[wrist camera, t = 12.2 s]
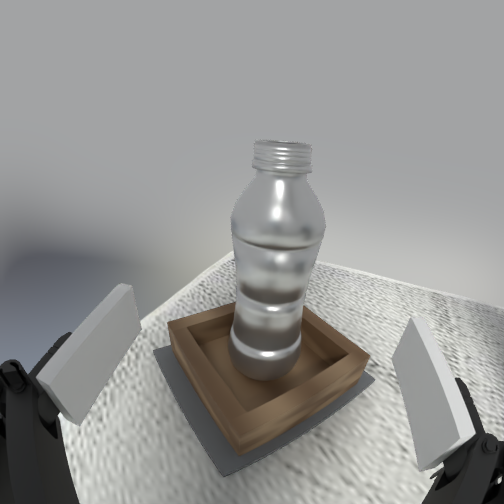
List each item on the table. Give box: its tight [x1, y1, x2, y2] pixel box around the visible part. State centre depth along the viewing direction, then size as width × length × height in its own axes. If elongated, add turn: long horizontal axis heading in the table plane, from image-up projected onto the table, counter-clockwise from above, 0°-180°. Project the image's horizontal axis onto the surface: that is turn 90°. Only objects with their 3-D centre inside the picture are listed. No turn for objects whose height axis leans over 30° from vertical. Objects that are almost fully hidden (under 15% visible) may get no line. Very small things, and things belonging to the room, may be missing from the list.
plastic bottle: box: [228, 140, 326, 381], centre depth 21 cm, size 6×7×20 cm
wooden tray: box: [167, 302, 370, 456], centre depth 25 cm, size 14×14×4 cm
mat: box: [153, 345, 375, 477], centre depth 26 cm, size 18×16×1 cm
